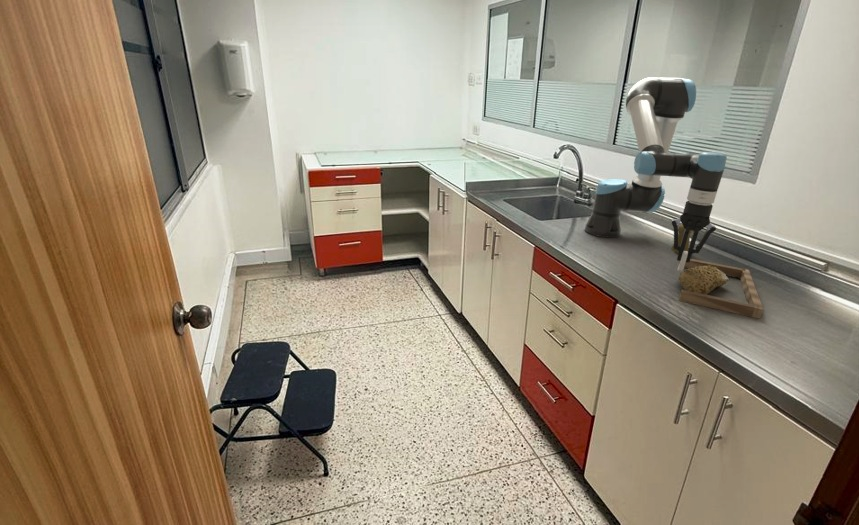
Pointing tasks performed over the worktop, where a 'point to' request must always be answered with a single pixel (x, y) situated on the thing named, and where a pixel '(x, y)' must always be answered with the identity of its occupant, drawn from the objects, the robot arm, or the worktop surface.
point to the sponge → (702, 279)
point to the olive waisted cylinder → (680, 236)
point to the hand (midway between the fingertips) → (680, 269)
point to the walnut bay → (749, 309)
